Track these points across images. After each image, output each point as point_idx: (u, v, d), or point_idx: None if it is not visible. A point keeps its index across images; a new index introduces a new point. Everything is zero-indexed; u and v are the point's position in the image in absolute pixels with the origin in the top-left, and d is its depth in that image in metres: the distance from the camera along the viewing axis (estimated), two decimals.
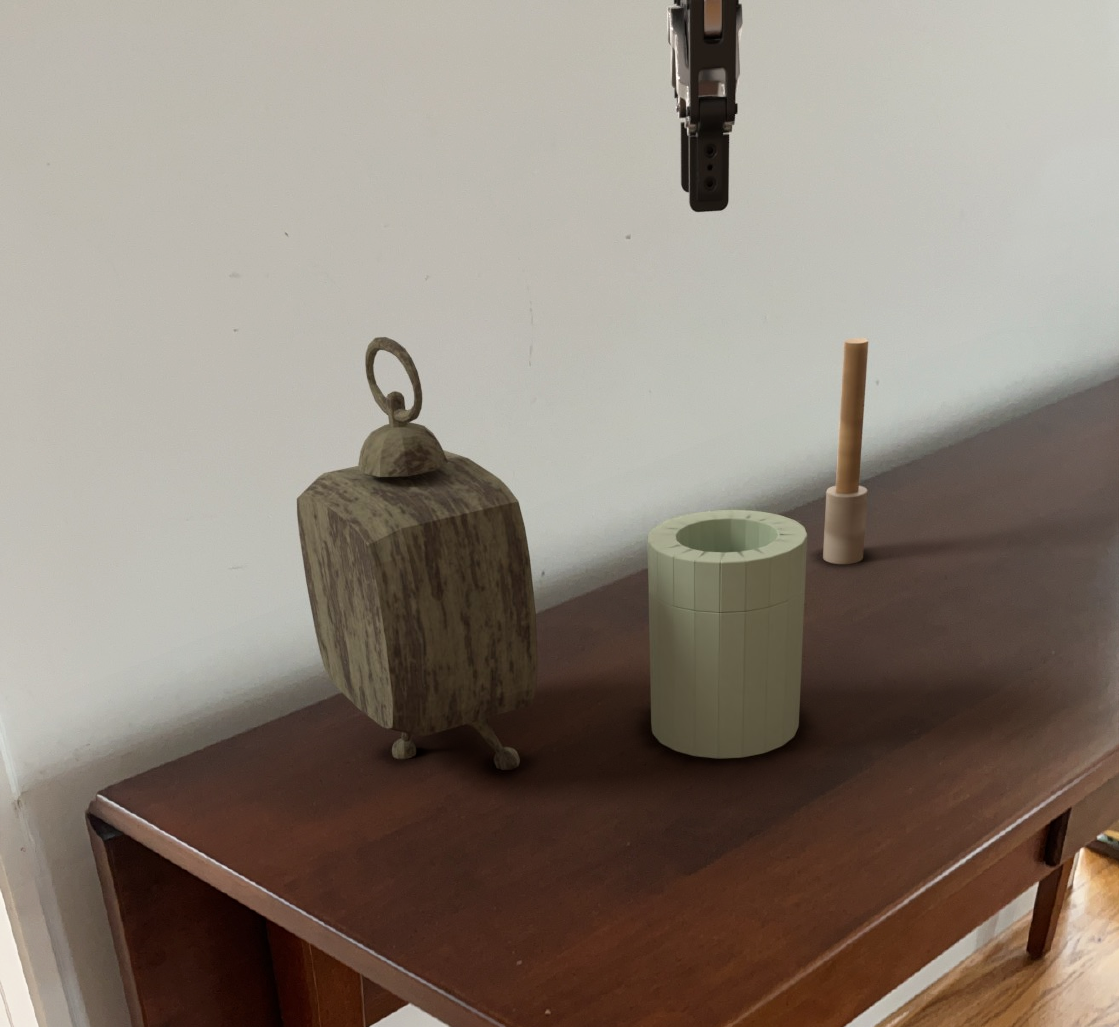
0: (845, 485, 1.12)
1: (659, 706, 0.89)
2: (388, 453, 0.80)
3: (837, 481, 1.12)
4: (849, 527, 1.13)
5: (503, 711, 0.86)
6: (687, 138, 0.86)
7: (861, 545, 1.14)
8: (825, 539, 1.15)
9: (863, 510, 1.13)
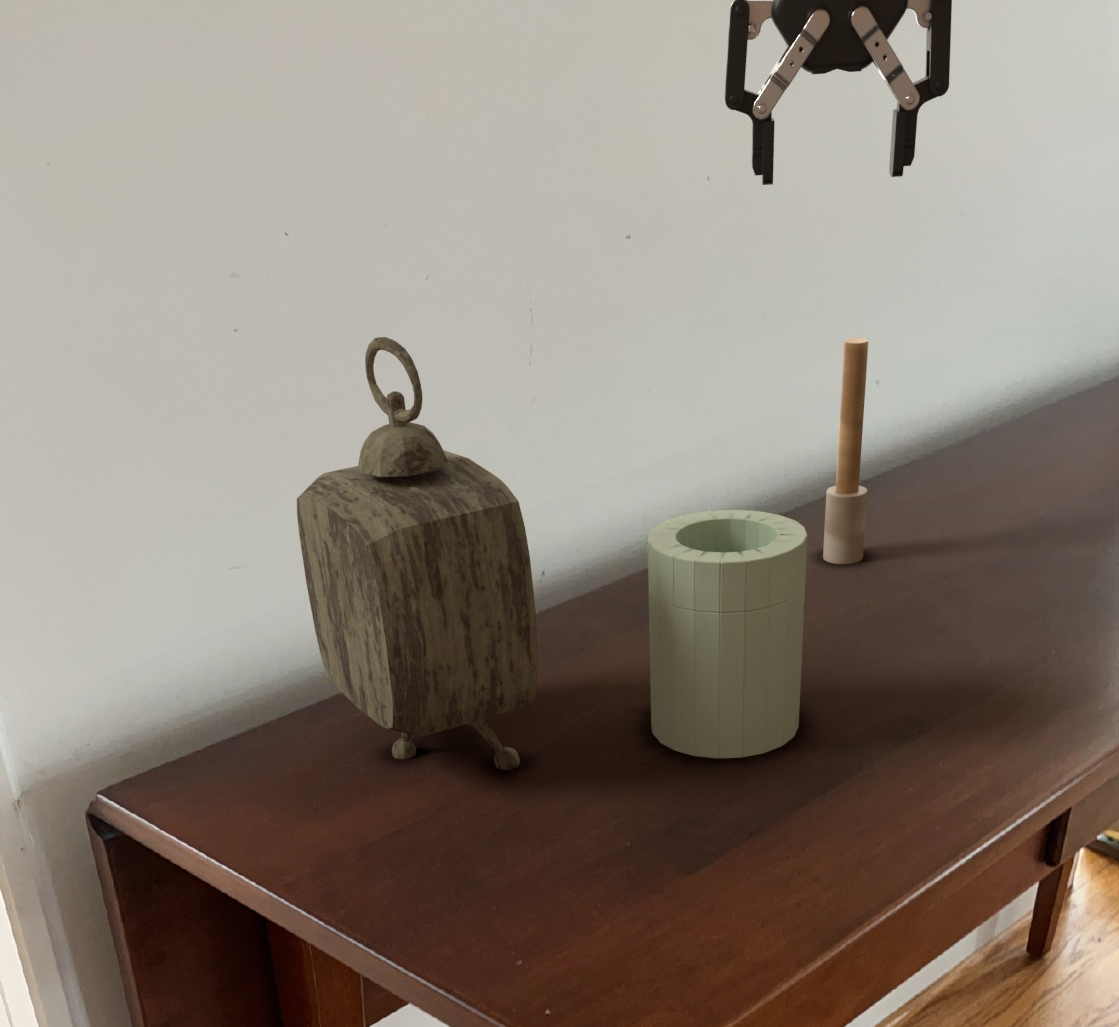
0: (845, 485, 1.12)
1: (659, 706, 0.89)
2: (388, 453, 0.80)
3: (837, 481, 1.12)
4: (849, 527, 1.13)
5: (503, 711, 0.86)
6: None
7: (861, 545, 1.14)
8: (825, 539, 1.15)
9: (863, 510, 1.13)
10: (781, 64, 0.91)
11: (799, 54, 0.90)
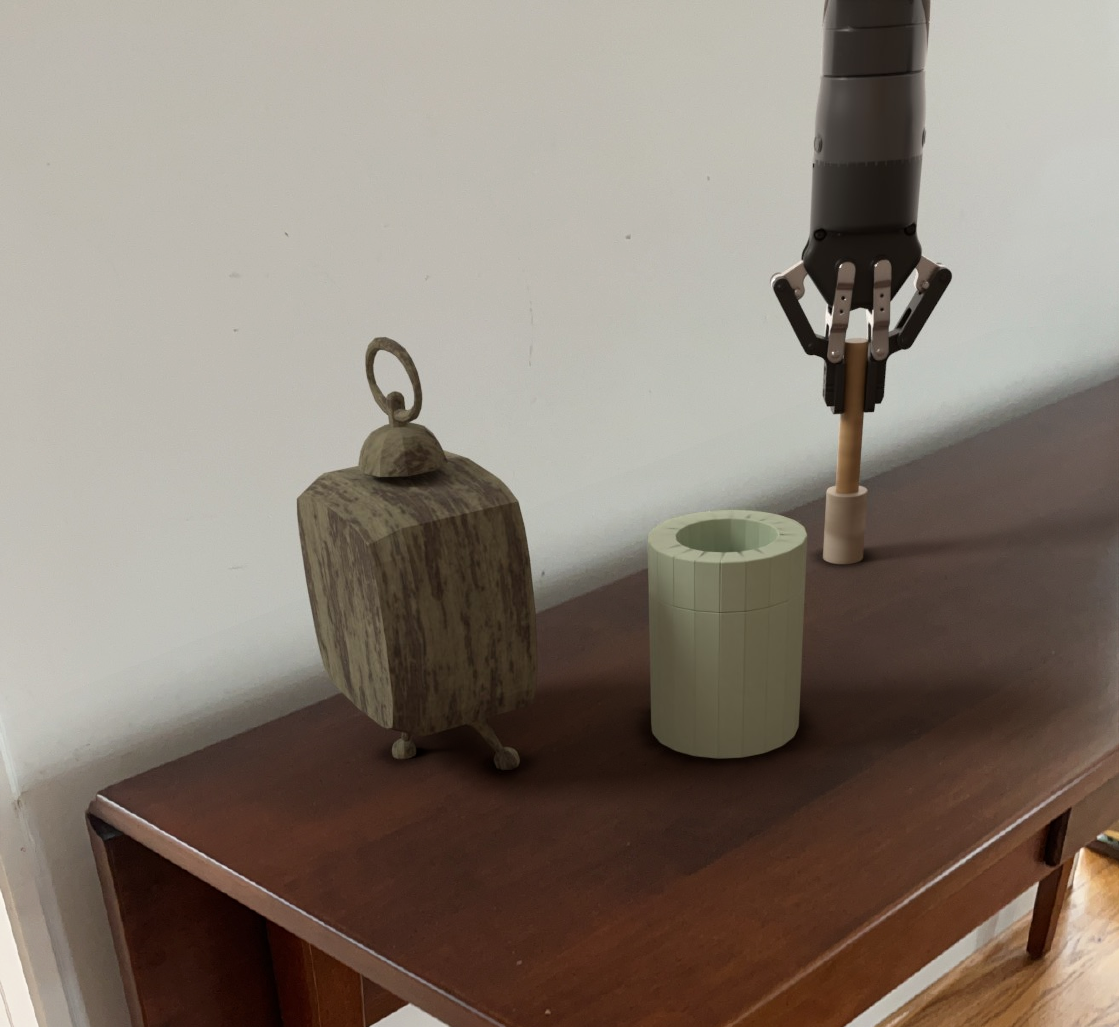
0: (845, 485, 1.12)
1: (659, 706, 0.89)
2: (387, 453, 0.80)
3: (837, 481, 1.12)
4: (849, 527, 1.13)
5: (503, 711, 0.86)
6: (844, 374, 1.07)
7: (861, 545, 1.14)
8: (825, 539, 1.15)
9: (863, 510, 1.13)
10: (833, 317, 1.04)
11: (844, 302, 1.03)
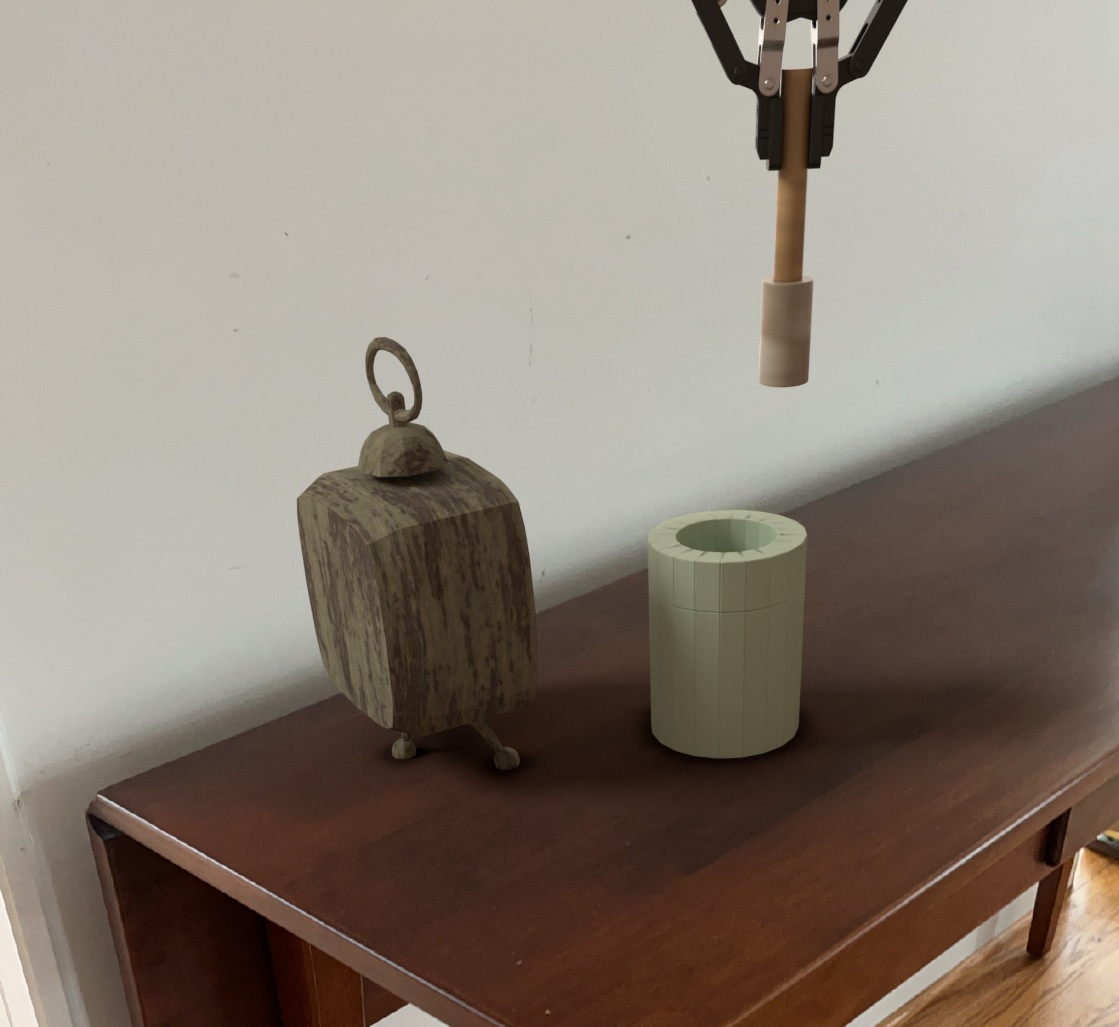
0: (784, 270, 0.87)
1: (659, 706, 0.89)
2: (388, 453, 0.80)
3: (775, 266, 0.88)
4: (789, 326, 0.88)
5: (503, 711, 0.86)
6: None
7: (806, 353, 0.90)
8: (760, 346, 0.90)
9: (808, 305, 0.88)
10: (765, 29, 0.79)
11: (778, 6, 0.79)
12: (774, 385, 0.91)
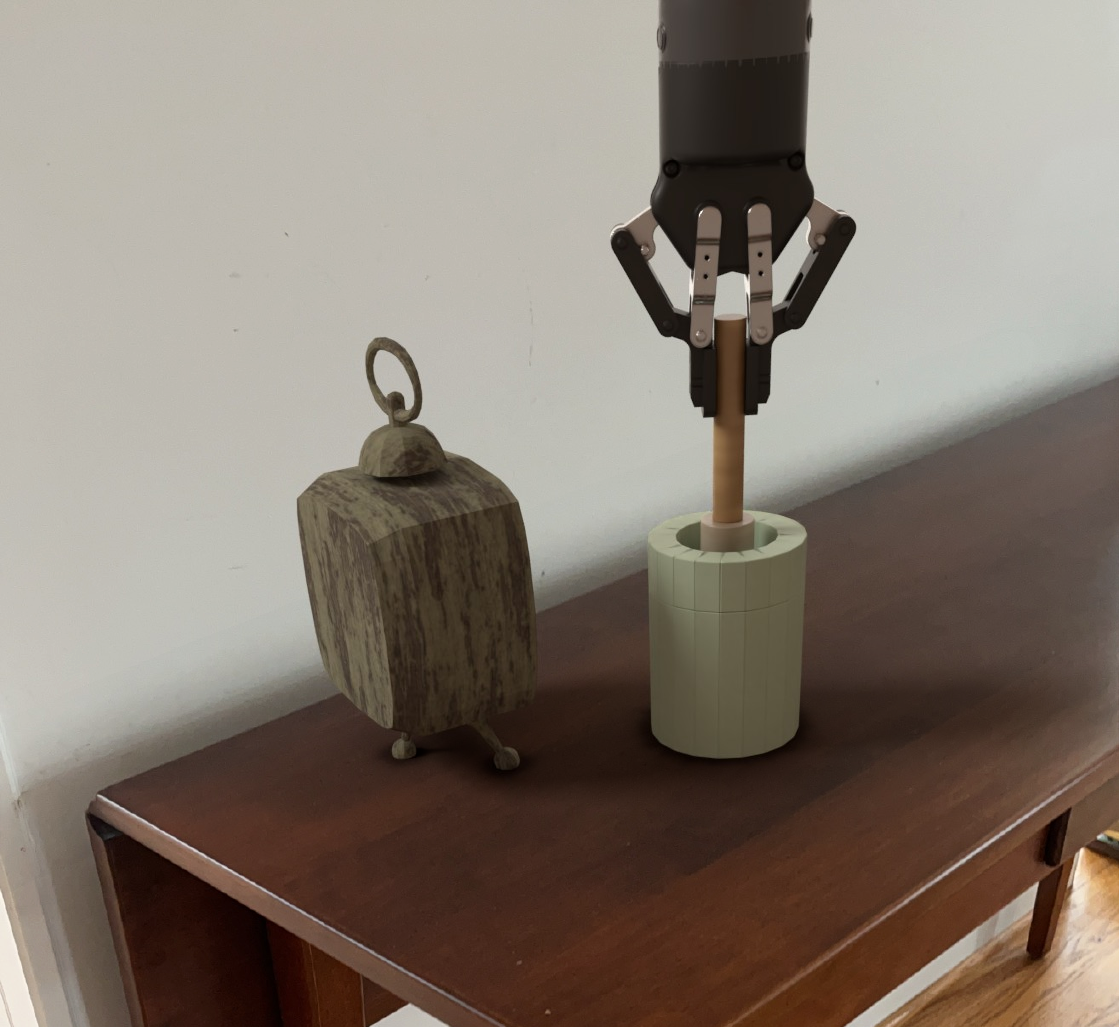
0: (723, 512, 0.83)
1: (659, 706, 0.89)
2: (388, 453, 0.80)
3: (713, 507, 0.84)
4: None
5: (503, 711, 0.86)
6: None
7: None
8: None
9: (749, 545, 0.84)
10: (695, 285, 0.75)
11: (708, 263, 0.75)
12: None
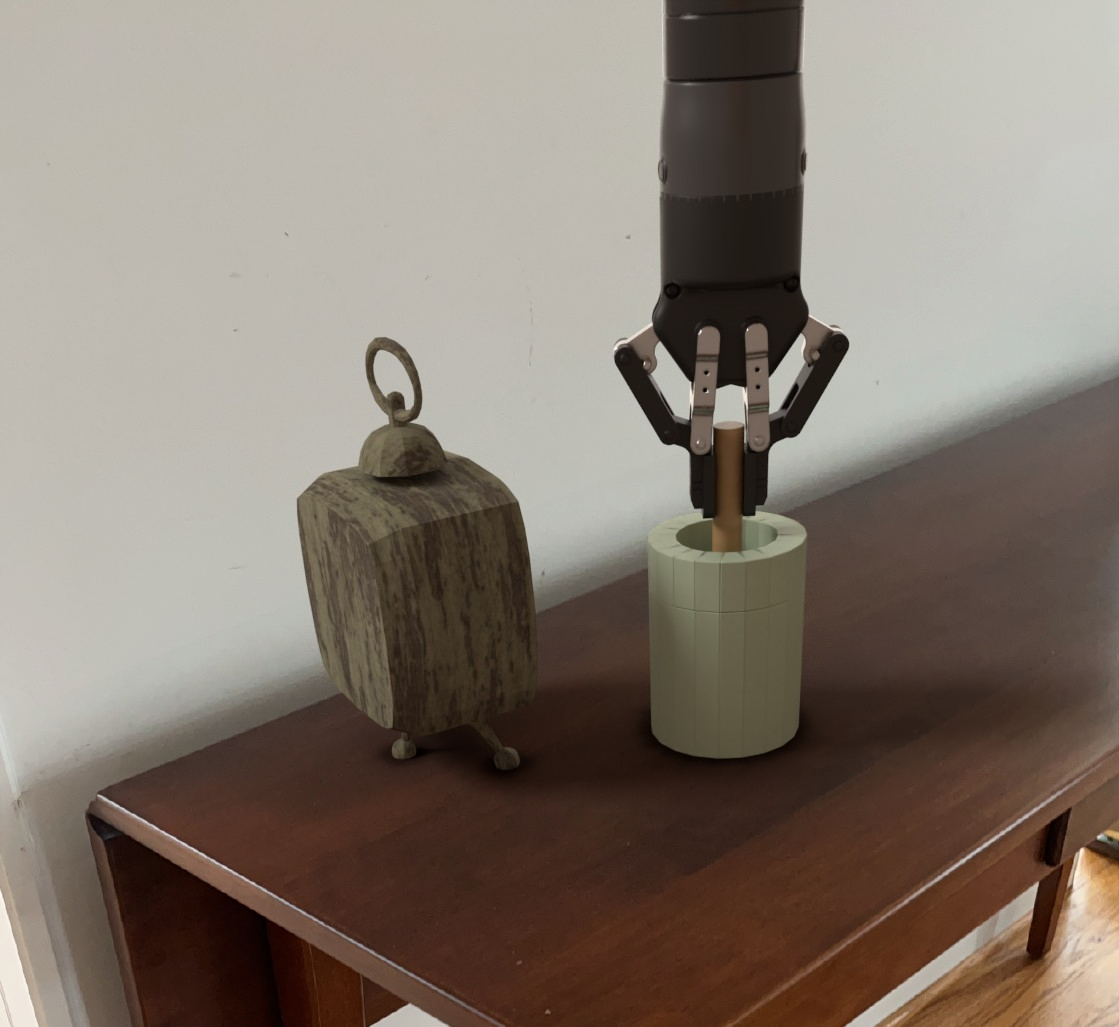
0: None
1: (659, 706, 0.89)
2: (388, 453, 0.80)
3: None
4: None
5: (503, 711, 0.86)
6: None
7: None
8: None
9: None
10: (695, 397, 0.79)
11: (707, 378, 0.78)
12: None
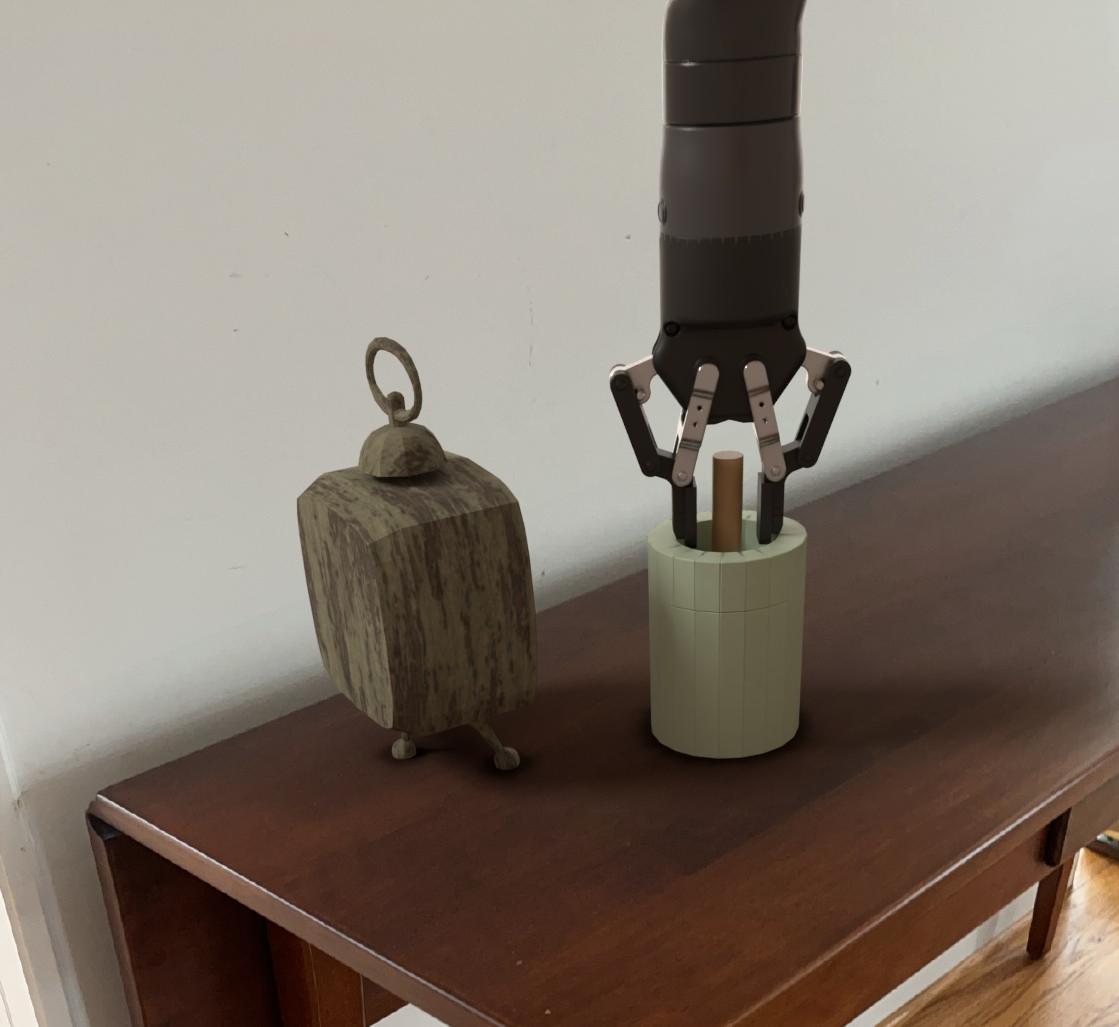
0: None
1: (659, 706, 0.89)
2: (388, 453, 0.80)
3: None
4: None
5: (503, 711, 0.86)
6: None
7: None
8: None
9: None
10: (684, 430, 0.80)
11: (700, 413, 0.79)
12: None
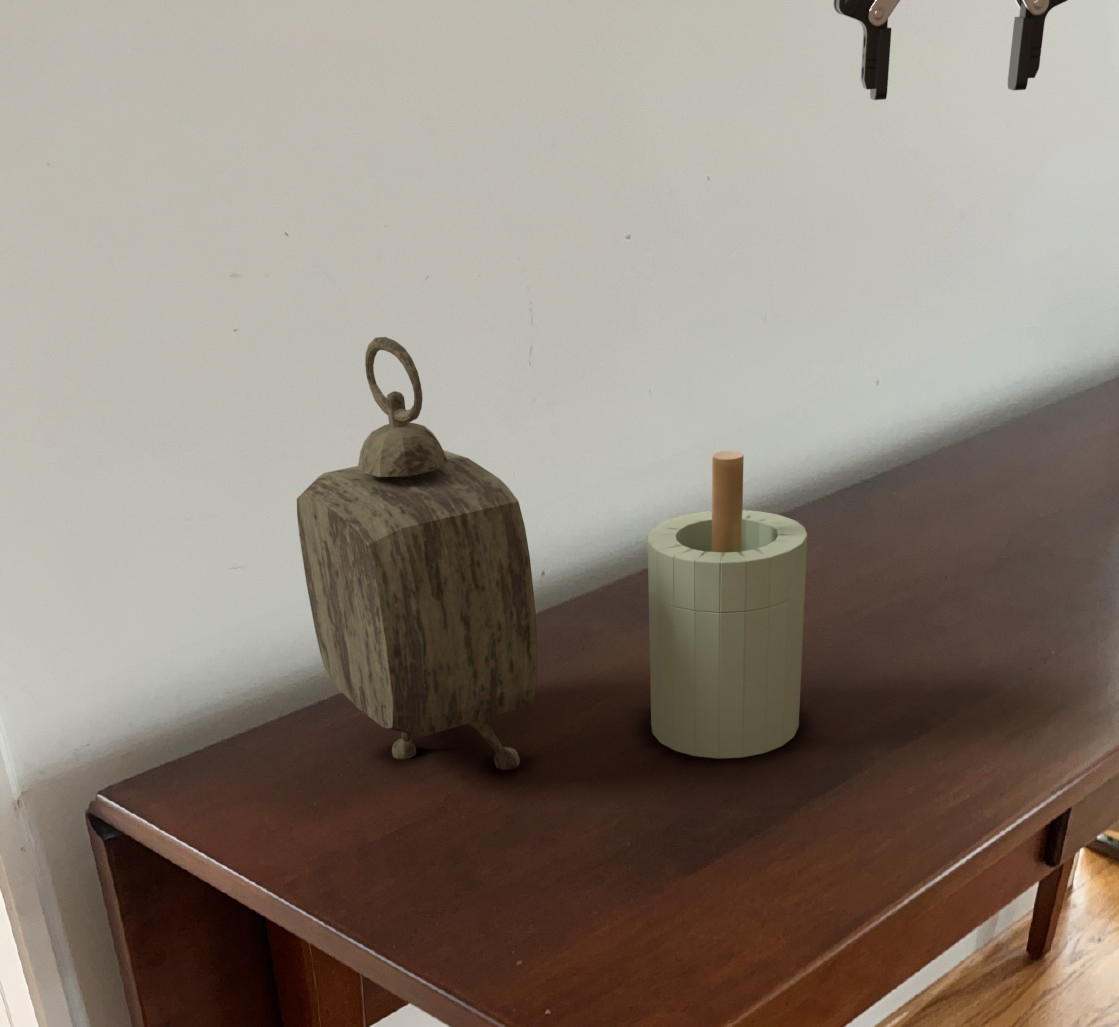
0: None
1: (659, 706, 0.89)
2: (388, 453, 0.80)
3: None
4: None
5: (503, 711, 0.86)
6: None
7: None
8: None
9: None
10: None
11: None
12: None
